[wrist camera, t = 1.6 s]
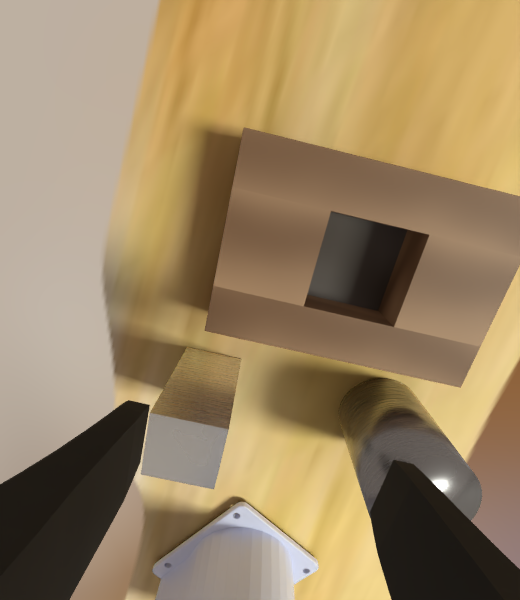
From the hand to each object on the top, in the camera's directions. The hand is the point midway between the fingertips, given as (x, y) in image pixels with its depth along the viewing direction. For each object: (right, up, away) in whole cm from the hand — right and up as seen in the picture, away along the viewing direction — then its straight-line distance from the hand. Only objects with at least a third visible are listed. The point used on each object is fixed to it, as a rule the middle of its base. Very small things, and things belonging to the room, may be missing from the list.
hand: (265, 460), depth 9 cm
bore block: (+5, +7, +7) cm, 11 cm away
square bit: (-3, 0, +10) cm, 10 cm away
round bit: (+7, -2, +10) cm, 13 cm away
